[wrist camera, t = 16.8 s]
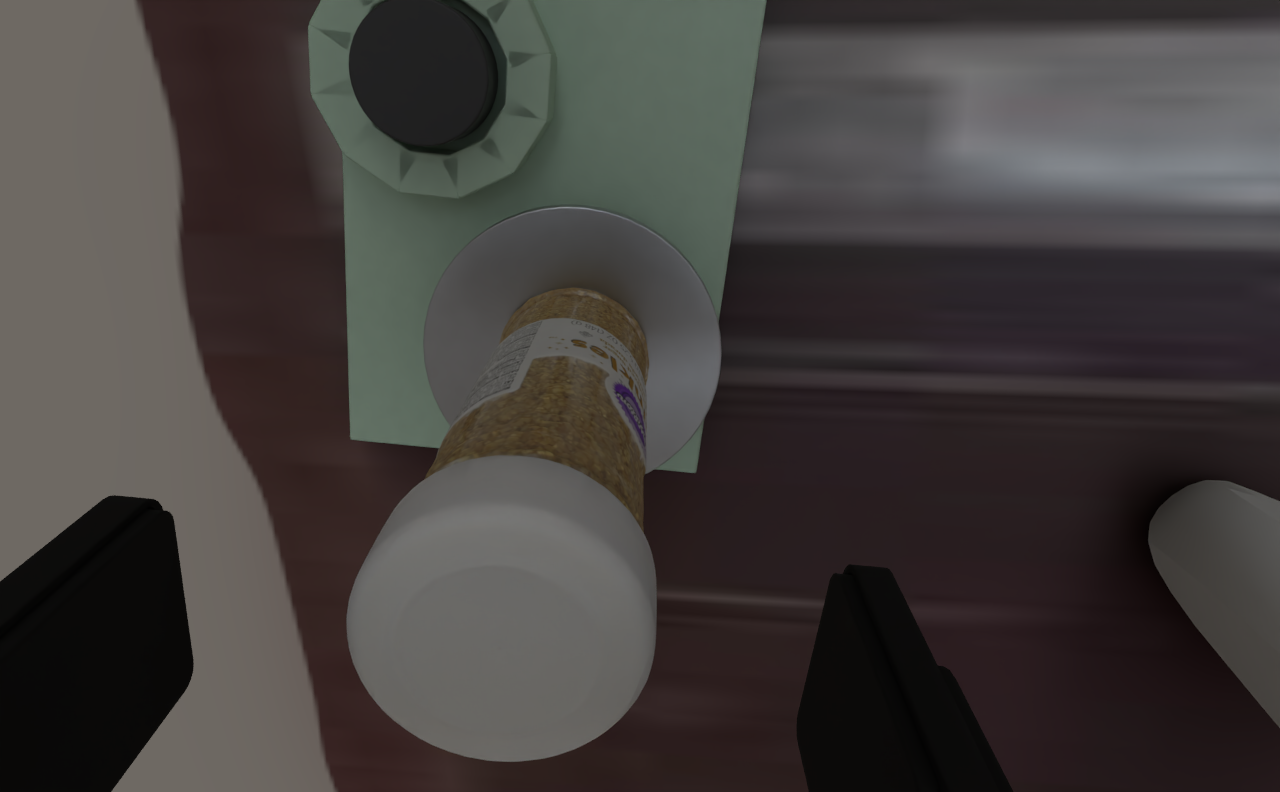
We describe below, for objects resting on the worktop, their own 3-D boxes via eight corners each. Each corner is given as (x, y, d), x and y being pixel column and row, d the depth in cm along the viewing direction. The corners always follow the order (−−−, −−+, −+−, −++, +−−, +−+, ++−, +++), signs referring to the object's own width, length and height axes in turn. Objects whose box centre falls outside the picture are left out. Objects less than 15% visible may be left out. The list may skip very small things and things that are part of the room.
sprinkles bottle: (679, 366, 24) (723, 672, 11) (566, 453, 25) (492, 822, 12) (579, 249, 23) (504, 450, 10) (465, 346, 24) (268, 638, 11)
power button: (366, -6, 21) (346, -13, 20) (501, 10, 21) (491, 4, 20) (368, 135, 22) (349, 138, 21) (496, 149, 22) (485, 153, 21)
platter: (428, 187, 22) (423, 189, 22) (741, 221, 23) (743, 224, 22) (425, 469, 26) (421, 477, 25) (699, 496, 26) (700, 503, 26)
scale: (343, -87, 23) (301, -112, 20) (765, -36, 23) (783, -53, 20) (355, 423, 28) (324, 460, 26) (693, 456, 29) (699, 496, 26)
